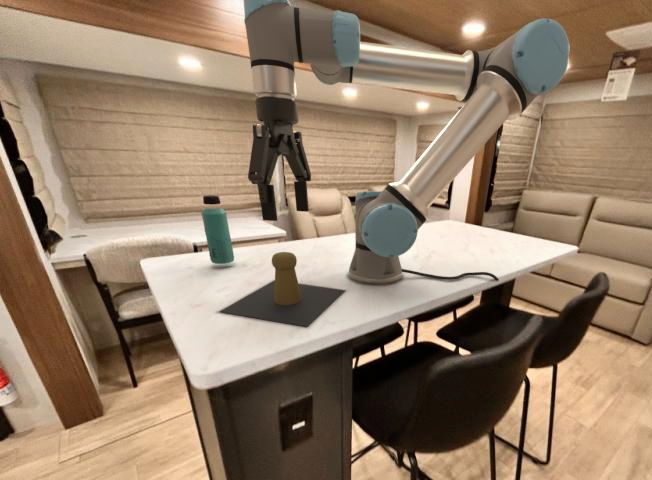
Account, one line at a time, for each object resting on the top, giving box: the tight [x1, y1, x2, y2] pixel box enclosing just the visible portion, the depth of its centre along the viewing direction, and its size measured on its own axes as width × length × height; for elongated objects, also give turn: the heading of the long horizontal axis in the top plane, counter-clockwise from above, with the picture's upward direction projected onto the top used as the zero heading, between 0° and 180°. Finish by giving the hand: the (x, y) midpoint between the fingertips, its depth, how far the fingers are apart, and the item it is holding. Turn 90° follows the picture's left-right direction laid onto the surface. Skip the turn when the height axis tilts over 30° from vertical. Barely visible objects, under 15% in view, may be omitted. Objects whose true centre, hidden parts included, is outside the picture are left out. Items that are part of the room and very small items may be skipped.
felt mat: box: [219, 279, 345, 328], centre depth 71 cm, size 20×20×1 cm
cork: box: [271, 251, 301, 305], centre depth 69 cm, size 6×6×11 cm
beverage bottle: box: [200, 194, 235, 265], centre depth 88 cm, size 6×7×20 cm
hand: (287, 215), depth 66 cm, fingers open, 13 cm apart
